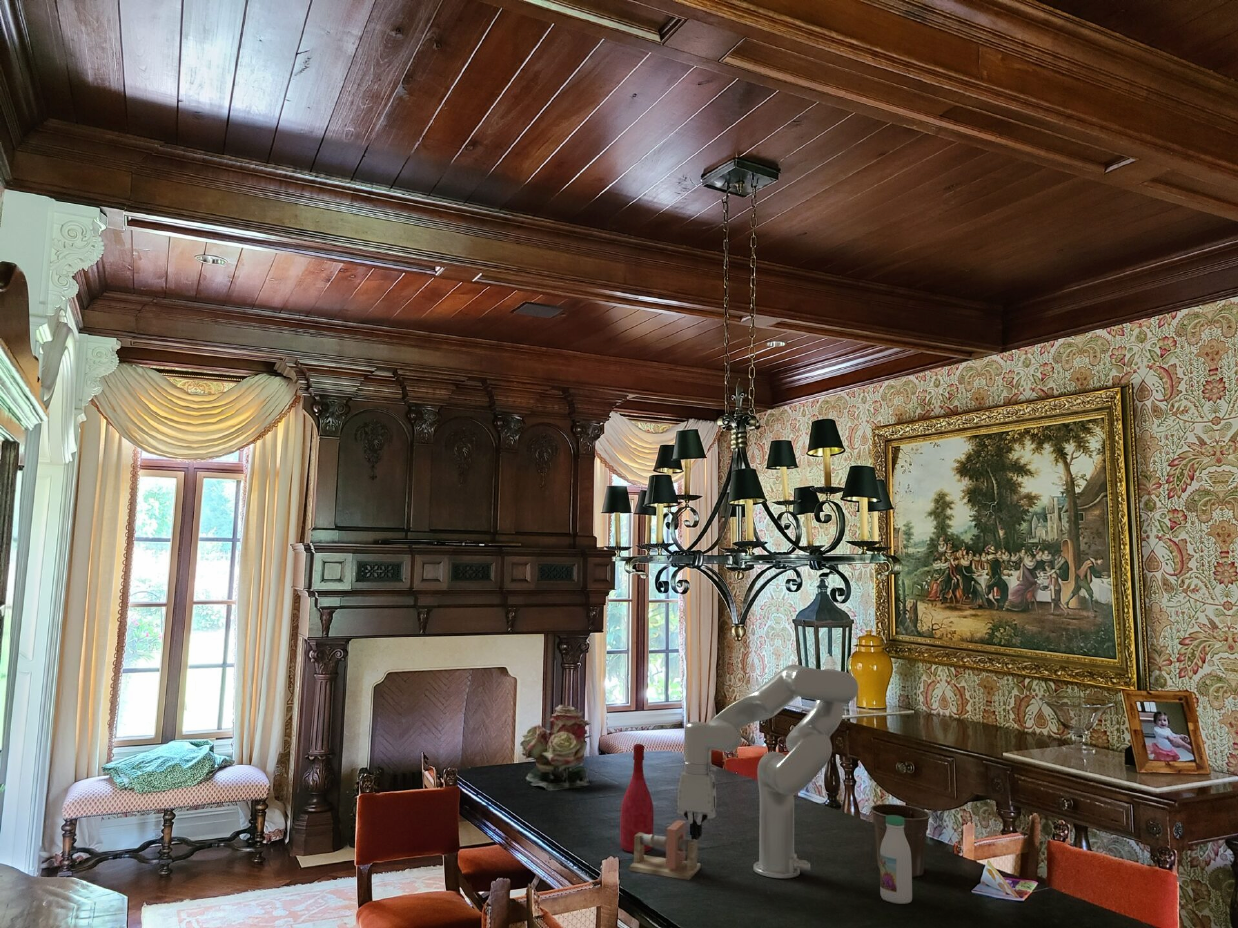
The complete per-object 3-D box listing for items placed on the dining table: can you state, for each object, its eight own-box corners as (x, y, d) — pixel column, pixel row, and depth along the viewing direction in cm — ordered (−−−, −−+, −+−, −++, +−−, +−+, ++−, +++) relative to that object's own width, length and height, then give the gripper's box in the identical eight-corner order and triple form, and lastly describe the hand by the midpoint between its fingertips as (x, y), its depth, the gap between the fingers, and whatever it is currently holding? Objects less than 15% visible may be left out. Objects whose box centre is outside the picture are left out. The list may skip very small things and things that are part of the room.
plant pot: (942, 872, 241) (941, 812, 243) (914, 884, 230) (913, 821, 232) (889, 857, 253) (888, 800, 255) (860, 868, 242) (859, 808, 244)
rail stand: (700, 867, 238) (700, 835, 239) (689, 879, 228) (689, 845, 229) (642, 859, 244) (643, 827, 245) (629, 870, 234) (630, 837, 235)
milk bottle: (905, 893, 222) (904, 813, 225) (916, 904, 214) (915, 820, 217) (876, 893, 222) (875, 812, 225) (886, 904, 214) (885, 820, 217)
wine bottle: (624, 854, 248) (627, 747, 252) (615, 844, 257) (618, 741, 262) (657, 852, 250) (659, 746, 255) (647, 843, 260) (649, 740, 264)
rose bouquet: (512, 778, 343) (516, 701, 347) (581, 774, 354) (583, 699, 358) (532, 792, 319) (535, 710, 324) (604, 788, 331) (607, 708, 335)
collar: (685, 858, 239) (685, 820, 241) (674, 868, 230) (675, 829, 232) (676, 857, 240) (677, 819, 242) (665, 867, 231) (666, 828, 233)
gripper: (726, 768, 238) (725, 838, 235) (675, 763, 243) (673, 831, 240) (720, 773, 231) (718, 845, 228) (667, 767, 236) (665, 837, 233)
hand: (695, 838), depth 234 cm, fingers closed
